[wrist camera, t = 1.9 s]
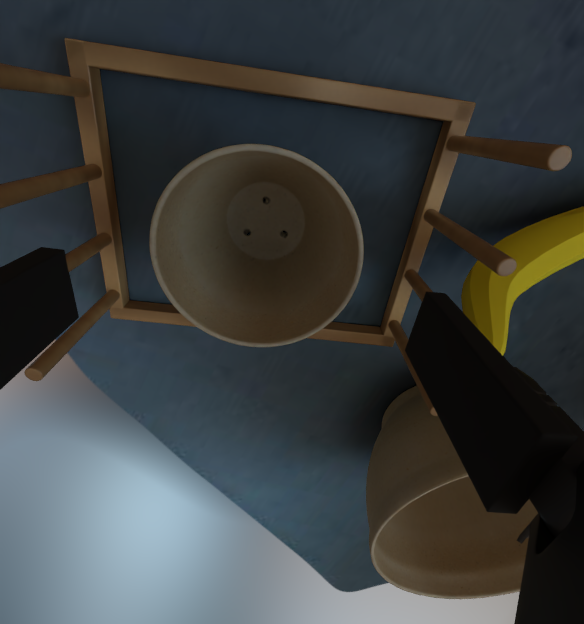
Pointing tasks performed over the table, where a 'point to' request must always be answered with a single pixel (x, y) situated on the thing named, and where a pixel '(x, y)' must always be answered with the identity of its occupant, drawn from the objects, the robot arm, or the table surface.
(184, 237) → the flower pot
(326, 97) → the rack
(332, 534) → the table surface
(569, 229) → the banana
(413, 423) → the planter bowl
